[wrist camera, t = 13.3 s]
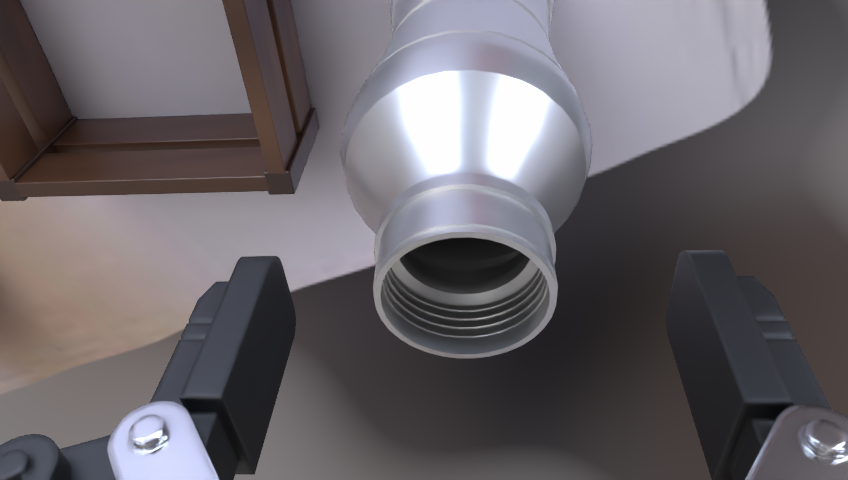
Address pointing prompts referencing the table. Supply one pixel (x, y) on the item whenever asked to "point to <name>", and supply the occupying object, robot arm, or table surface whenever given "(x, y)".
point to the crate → (158, 122)
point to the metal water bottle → (466, 172)
